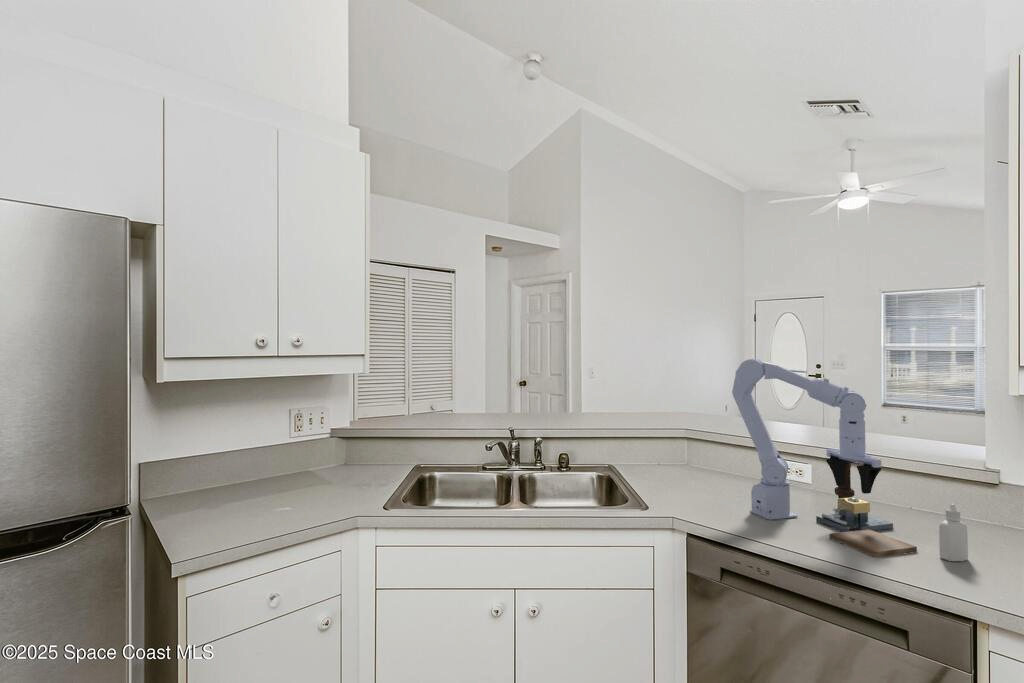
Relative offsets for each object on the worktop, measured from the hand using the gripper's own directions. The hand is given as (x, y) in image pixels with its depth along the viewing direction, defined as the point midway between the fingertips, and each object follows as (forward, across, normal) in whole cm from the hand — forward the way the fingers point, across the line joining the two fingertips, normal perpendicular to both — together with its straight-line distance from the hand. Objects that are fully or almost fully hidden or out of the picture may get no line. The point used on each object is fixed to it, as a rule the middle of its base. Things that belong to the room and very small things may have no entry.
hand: (853, 489), depth 136 cm
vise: (+9, 0, 0) cm, 9 cm away
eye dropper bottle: (+10, -23, -2) cm, 25 cm away
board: (+9, -12, +8) cm, 17 cm away
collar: (+5, 0, 0) cm, 5 cm away
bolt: (+10, +13, -11) cm, 19 cm away
